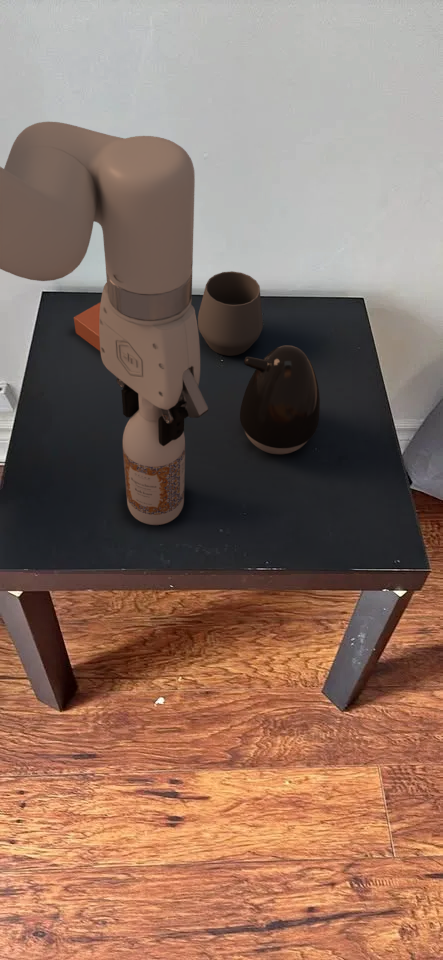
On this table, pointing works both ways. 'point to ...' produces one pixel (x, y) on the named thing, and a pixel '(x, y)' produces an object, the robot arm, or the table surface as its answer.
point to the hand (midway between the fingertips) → (153, 422)
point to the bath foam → (152, 468)
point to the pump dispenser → (281, 401)
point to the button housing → (89, 325)
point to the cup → (230, 313)
